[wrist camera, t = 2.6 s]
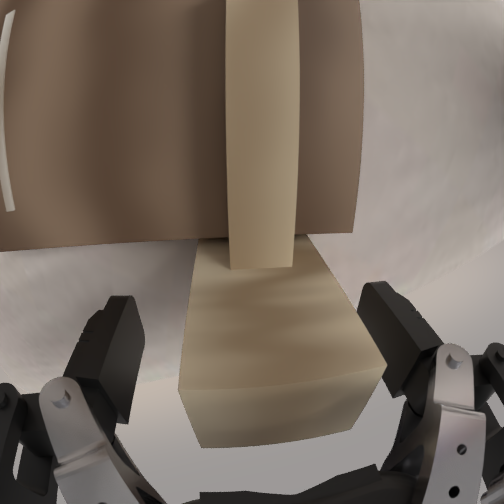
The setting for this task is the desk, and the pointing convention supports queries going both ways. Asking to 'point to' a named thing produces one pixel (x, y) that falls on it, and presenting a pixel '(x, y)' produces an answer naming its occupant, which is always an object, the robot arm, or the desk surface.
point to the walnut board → (157, 120)
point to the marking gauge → (268, 269)
